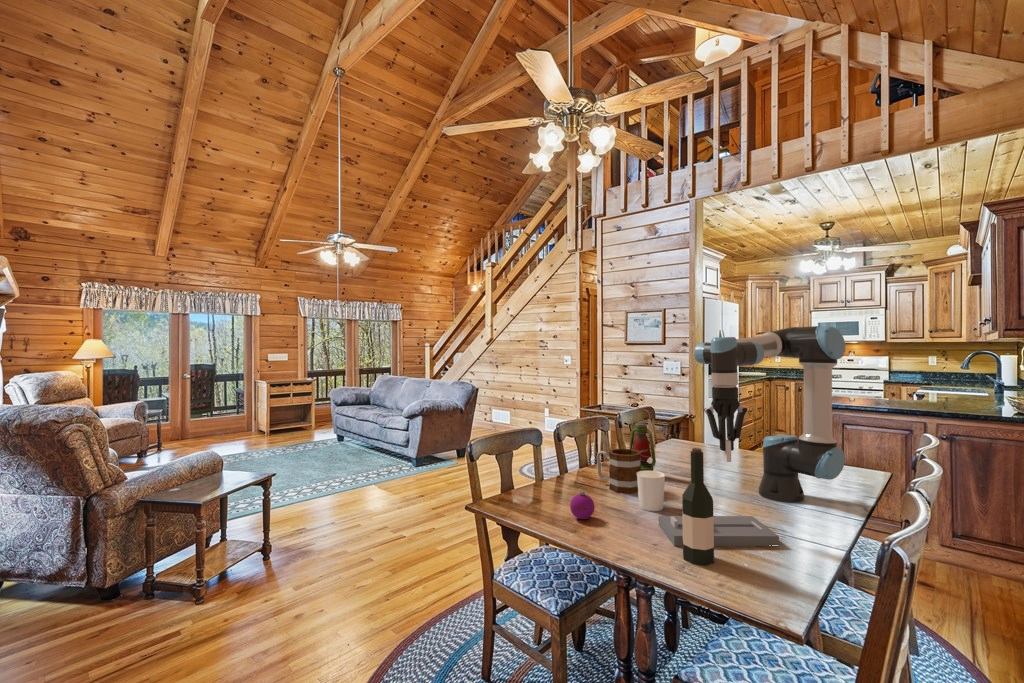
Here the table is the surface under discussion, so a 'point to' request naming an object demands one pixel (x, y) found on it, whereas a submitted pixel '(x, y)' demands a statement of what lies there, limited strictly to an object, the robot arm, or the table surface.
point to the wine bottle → (698, 516)
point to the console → (724, 531)
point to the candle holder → (651, 490)
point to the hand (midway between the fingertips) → (727, 460)
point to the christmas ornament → (582, 506)
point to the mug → (622, 469)
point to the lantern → (643, 443)
